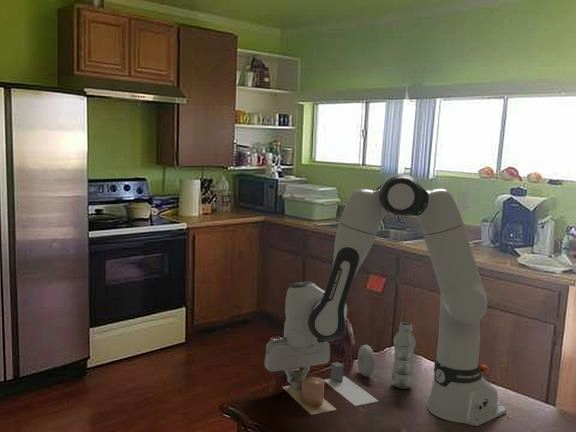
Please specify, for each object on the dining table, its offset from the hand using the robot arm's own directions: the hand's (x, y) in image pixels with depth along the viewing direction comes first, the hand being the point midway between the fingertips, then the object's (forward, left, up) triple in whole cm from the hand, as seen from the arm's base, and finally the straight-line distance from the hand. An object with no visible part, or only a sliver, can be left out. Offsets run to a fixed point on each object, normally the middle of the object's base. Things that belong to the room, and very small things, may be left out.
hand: (296, 380), depth 162 cm
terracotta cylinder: (0, +10, -2) cm, 10 cm away
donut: (-26, -2, -3) cm, 26 cm away
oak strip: (0, +7, -3) cm, 8 cm away
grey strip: (-14, +7, -3) cm, 16 cm away
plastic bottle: (-32, +9, -3) cm, 33 cm away
